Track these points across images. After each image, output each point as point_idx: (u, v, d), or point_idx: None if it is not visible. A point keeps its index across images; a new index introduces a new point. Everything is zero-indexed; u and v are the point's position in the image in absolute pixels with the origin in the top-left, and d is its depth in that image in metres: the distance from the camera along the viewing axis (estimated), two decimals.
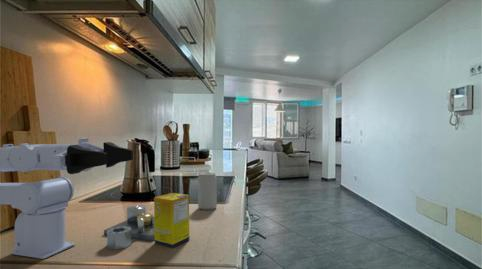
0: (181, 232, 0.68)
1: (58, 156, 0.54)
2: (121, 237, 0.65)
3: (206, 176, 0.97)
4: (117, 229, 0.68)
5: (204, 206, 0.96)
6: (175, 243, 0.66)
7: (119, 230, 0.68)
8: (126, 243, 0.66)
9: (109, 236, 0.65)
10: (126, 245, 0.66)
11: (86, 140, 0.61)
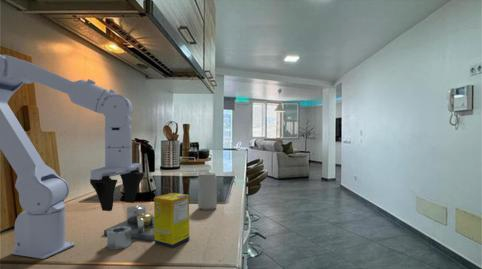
0: (181, 232, 0.68)
1: (97, 177, 0.60)
2: (121, 237, 0.65)
3: (206, 176, 0.97)
4: (117, 229, 0.68)
5: (204, 206, 0.96)
6: (175, 243, 0.66)
7: (119, 230, 0.68)
8: (126, 243, 0.66)
9: (109, 236, 0.65)
10: (126, 245, 0.66)
11: (132, 169, 0.66)
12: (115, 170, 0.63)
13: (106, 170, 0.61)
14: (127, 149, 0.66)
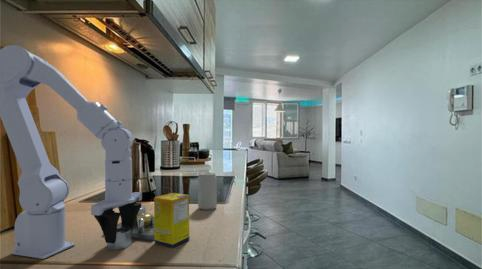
0: (181, 232, 0.68)
1: (98, 213, 0.60)
2: (121, 237, 0.65)
3: (206, 176, 0.97)
4: (117, 229, 0.68)
5: (204, 206, 0.96)
6: (175, 243, 0.66)
7: (119, 230, 0.68)
8: (126, 243, 0.66)
9: None
10: (126, 245, 0.66)
11: None
12: (115, 204, 0.63)
13: (106, 205, 0.61)
14: (127, 182, 0.66)
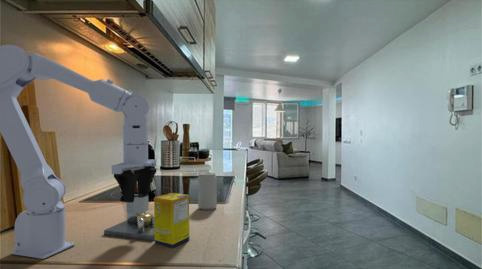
0: (181, 232, 0.68)
1: (118, 172, 0.64)
2: (139, 201, 0.69)
3: (206, 176, 0.97)
4: (135, 196, 0.72)
5: (204, 206, 0.96)
6: (175, 243, 0.66)
7: (137, 197, 0.73)
8: (144, 207, 0.70)
9: None
10: (144, 209, 0.70)
11: (148, 164, 0.71)
12: (133, 165, 0.68)
13: (125, 165, 0.66)
14: (144, 146, 0.70)
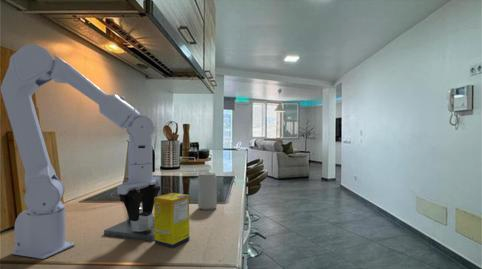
0: (181, 232, 0.68)
1: (124, 192, 0.66)
2: (144, 220, 0.71)
3: (206, 176, 0.97)
4: (139, 213, 0.74)
5: (204, 206, 0.96)
6: (175, 243, 0.66)
7: (141, 214, 0.74)
8: (148, 226, 0.71)
9: None
10: (148, 228, 0.72)
11: None
12: (138, 185, 0.69)
13: (131, 185, 0.67)
14: (149, 165, 0.72)
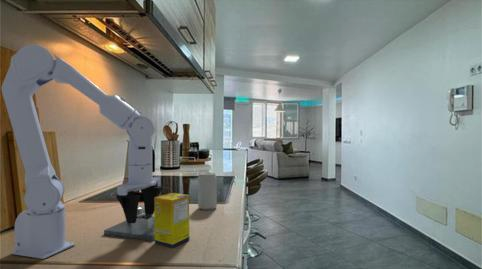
0: (181, 232, 0.68)
1: (124, 193, 0.66)
2: (144, 223, 0.71)
3: (206, 176, 0.97)
4: (139, 216, 0.74)
5: (204, 206, 0.96)
6: (175, 243, 0.66)
7: (141, 217, 0.74)
8: (148, 229, 0.72)
9: None
10: (148, 231, 0.72)
11: None
12: (138, 186, 0.69)
13: (131, 186, 0.67)
14: (149, 166, 0.72)
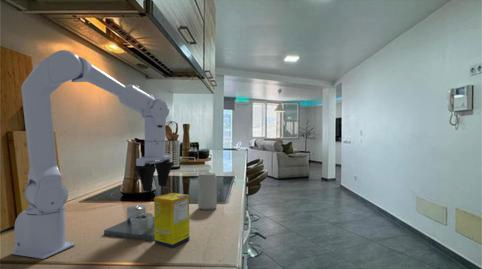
0: (181, 232, 0.68)
1: (142, 164, 0.76)
2: (144, 223, 0.71)
3: (206, 176, 0.97)
4: (139, 216, 0.74)
5: (204, 206, 0.96)
6: (175, 243, 0.66)
7: (141, 217, 0.74)
8: (148, 229, 0.72)
9: (133, 222, 0.71)
10: (148, 231, 0.72)
11: (166, 158, 0.83)
12: (154, 159, 0.80)
13: (148, 158, 0.78)
14: (162, 142, 0.82)
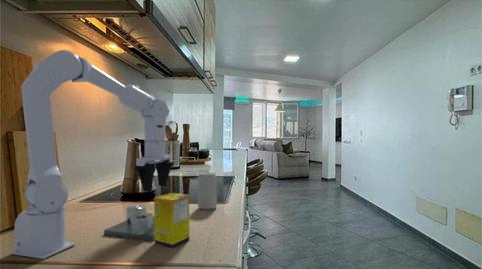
0: (181, 232, 0.68)
1: (142, 164, 0.76)
2: (144, 223, 0.71)
3: (206, 176, 0.97)
4: (139, 216, 0.74)
5: (204, 206, 0.96)
6: (175, 243, 0.66)
7: (141, 217, 0.74)
8: (148, 229, 0.72)
9: (133, 222, 0.71)
10: (148, 231, 0.72)
11: (166, 158, 0.83)
12: (154, 159, 0.80)
13: (148, 158, 0.78)
14: (162, 142, 0.82)
